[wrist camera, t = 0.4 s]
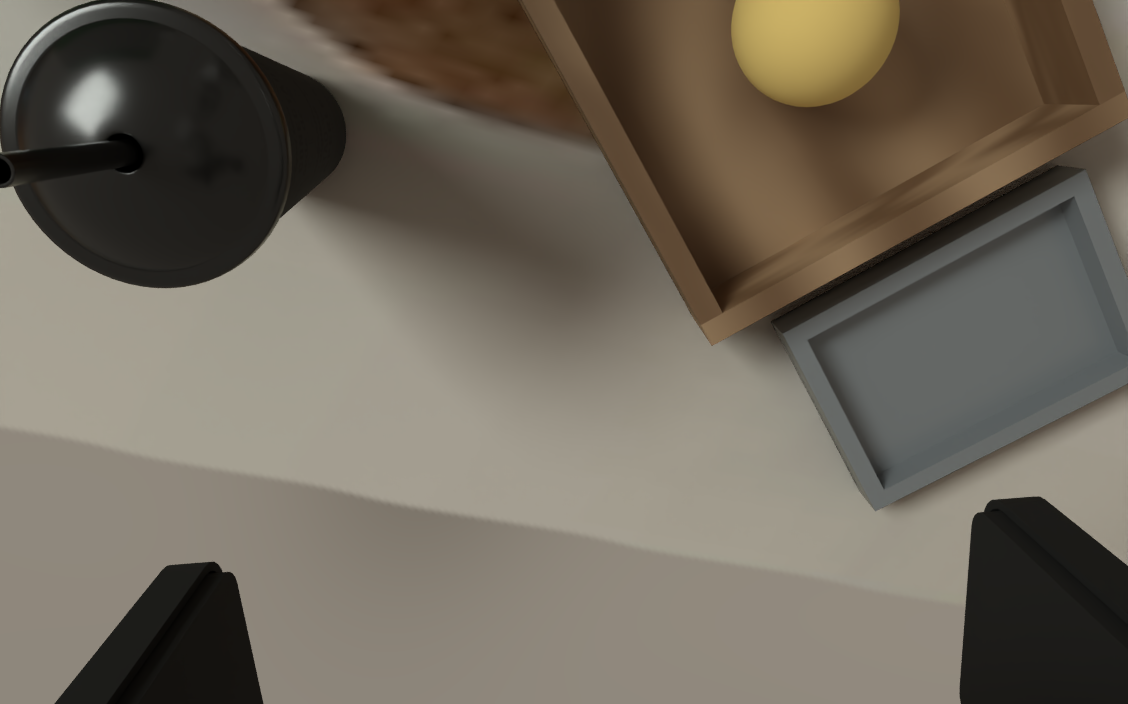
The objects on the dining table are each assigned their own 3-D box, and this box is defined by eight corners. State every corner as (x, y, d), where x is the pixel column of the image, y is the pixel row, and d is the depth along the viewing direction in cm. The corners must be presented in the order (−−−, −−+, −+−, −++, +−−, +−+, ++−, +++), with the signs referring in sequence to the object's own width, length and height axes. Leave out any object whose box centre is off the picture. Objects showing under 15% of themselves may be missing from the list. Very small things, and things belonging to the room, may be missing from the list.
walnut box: (897, -321, 31) (953, -387, 27) (1063, 112, 36) (1133, 115, 32) (486, -57, 34) (478, -80, 29) (693, 317, 38) (712, 345, 34)
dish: (1057, 165, 37) (1085, 169, 35) (1131, 353, 39) (1161, 366, 38) (771, 322, 39) (782, 333, 37) (859, 491, 41) (875, 511, 39)
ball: (826, -83, 33) (885, -120, 27) (887, 57, 35) (955, 50, 29) (691, -1, 34) (721, -20, 28) (757, 133, 35) (798, 140, 30)
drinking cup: (417, 127, 36) (273, 166, 17) (303, 256, 37) (51, 426, 18) (275, -8, 34) (-69, -139, 15) (161, 132, 36) (-283, 176, 16)
